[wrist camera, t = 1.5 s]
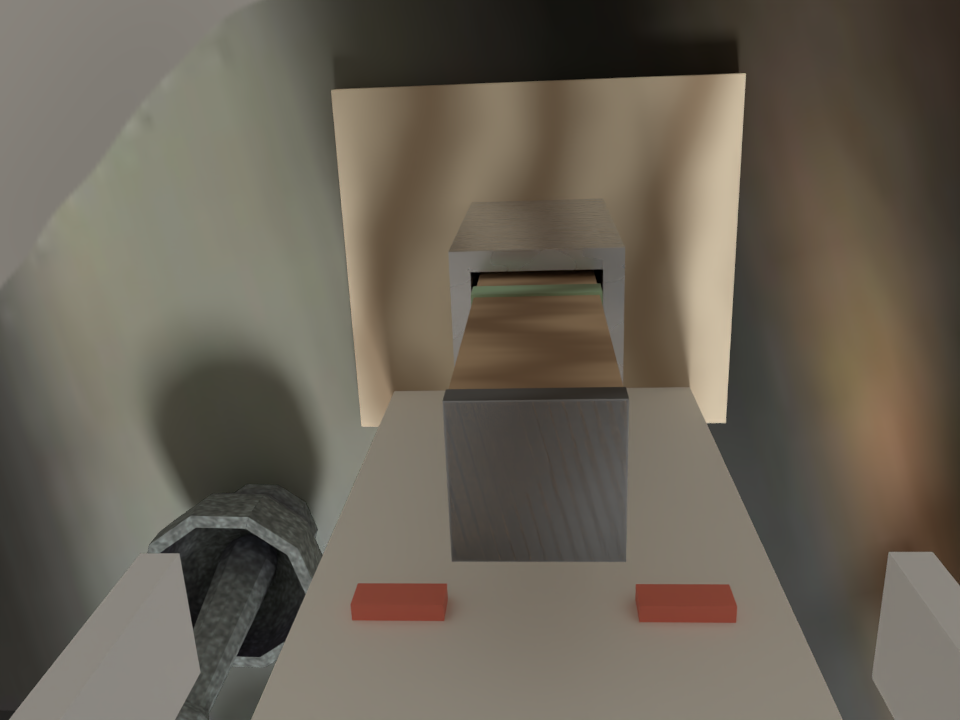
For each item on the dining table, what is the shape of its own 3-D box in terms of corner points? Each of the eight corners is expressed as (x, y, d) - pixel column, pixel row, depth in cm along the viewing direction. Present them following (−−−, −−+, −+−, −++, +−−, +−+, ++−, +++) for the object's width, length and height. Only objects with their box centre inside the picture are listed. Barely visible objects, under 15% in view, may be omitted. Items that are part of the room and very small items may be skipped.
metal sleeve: (602, 198, 43) (625, 247, 32) (601, 324, 46) (622, 412, 34) (471, 202, 44) (448, 251, 33) (476, 326, 46) (456, 414, 35)
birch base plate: (739, 73, 42) (745, 73, 41) (720, 412, 48) (725, 422, 47) (337, 89, 44) (330, 89, 43) (366, 416, 50) (361, 426, 48)
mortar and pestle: (208, 435, 51) (113, 542, 40) (361, 482, 51) (310, 602, 40) (174, 589, 55) (78, 728, 43) (316, 632, 55) (259, 781, 44)
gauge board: (690, 376, 46) (900, 817, 19) (689, 407, 47) (891, 878, 20) (393, 380, 47) (202, 802, 20) (395, 411, 48) (213, 859, 21)
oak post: (583, 220, 43) (631, 396, 21) (583, 309, 45) (628, 563, 22) (491, 223, 44) (440, 399, 21) (494, 310, 45) (450, 563, 23)
